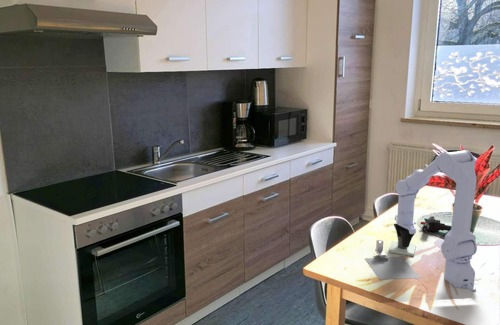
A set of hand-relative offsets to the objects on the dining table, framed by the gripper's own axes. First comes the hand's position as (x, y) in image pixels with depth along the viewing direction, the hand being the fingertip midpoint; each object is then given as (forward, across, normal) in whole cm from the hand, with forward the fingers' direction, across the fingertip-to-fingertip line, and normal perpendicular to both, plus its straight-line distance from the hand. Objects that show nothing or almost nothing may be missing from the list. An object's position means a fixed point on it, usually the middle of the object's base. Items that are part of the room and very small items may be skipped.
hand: (403, 244), depth 168 cm
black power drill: (+4, +20, -24) cm, 31 cm away
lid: (+2, 0, 0) cm, 2 cm away
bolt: (+1, -6, +11) cm, 12 cm away
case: (+4, -14, +10) cm, 18 cm away
